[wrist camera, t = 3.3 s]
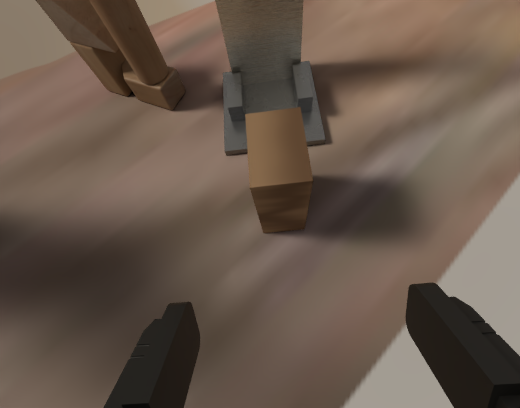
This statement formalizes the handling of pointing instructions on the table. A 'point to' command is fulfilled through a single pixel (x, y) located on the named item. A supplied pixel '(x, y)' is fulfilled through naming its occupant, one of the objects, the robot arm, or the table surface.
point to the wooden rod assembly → (117, 48)
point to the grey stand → (265, 67)
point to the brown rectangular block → (279, 168)
